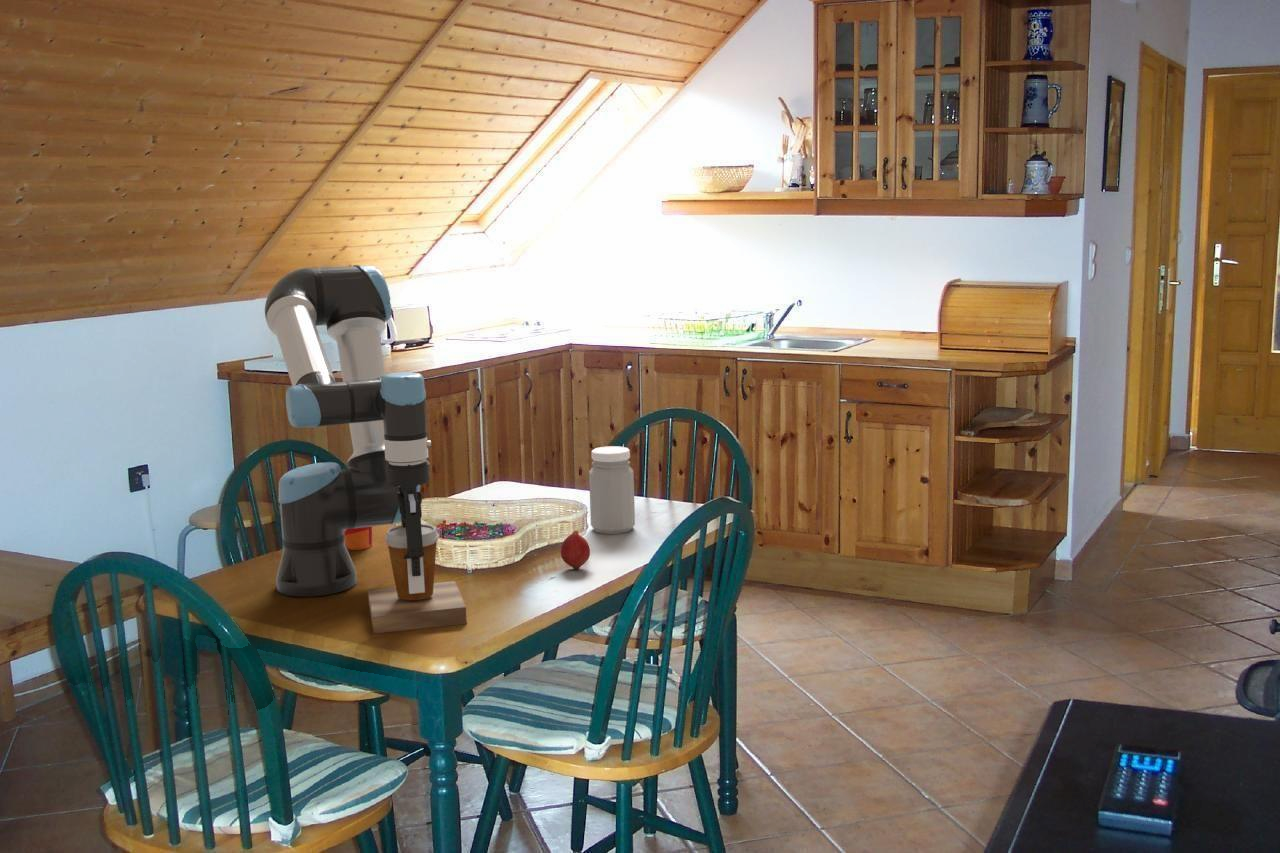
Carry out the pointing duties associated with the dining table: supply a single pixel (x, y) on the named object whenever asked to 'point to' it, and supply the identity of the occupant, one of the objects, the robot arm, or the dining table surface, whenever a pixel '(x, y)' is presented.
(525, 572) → the dining table surface
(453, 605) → the square wooden board
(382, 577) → the dining table surface
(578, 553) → the onion
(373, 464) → the robot arm
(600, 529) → the jar
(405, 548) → the disposable coffee cup
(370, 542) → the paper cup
